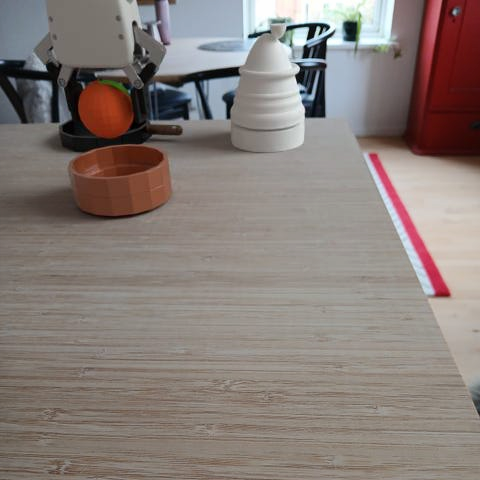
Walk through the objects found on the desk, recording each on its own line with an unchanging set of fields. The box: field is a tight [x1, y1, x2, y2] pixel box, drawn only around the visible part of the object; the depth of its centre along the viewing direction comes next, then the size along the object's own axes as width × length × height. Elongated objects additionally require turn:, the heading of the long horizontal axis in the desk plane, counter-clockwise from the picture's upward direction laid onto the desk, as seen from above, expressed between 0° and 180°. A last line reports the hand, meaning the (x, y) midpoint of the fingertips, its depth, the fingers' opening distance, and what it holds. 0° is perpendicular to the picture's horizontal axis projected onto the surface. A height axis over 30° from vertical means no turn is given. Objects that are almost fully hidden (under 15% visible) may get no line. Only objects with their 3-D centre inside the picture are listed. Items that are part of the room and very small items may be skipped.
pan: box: [58, 117, 184, 153], centre depth 94 cm, size 23×16×3 cm
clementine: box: [78, 77, 134, 138], centre depth 65 cm, size 8×7×7 cm
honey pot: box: [229, 22, 306, 153], centre depth 85 cm, size 13×13×18 cm
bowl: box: [66, 144, 173, 217], centre depth 71 cm, size 13×13×6 cm
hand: (110, 118), depth 66 cm, fingers closed on clementine, 8 cm apart
